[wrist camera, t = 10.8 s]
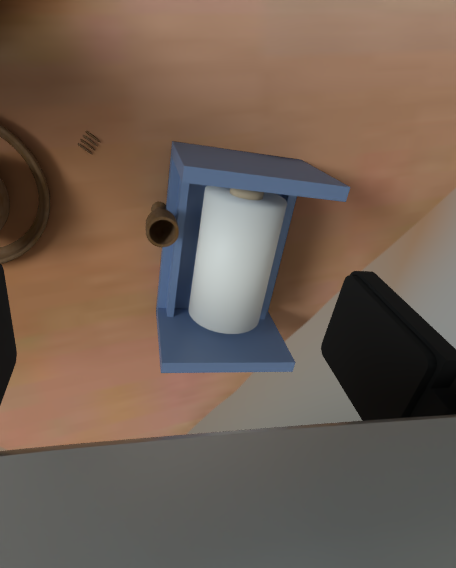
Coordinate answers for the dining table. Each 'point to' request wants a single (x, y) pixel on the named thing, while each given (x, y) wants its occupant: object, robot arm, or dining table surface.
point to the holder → (181, 254)
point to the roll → (234, 257)
